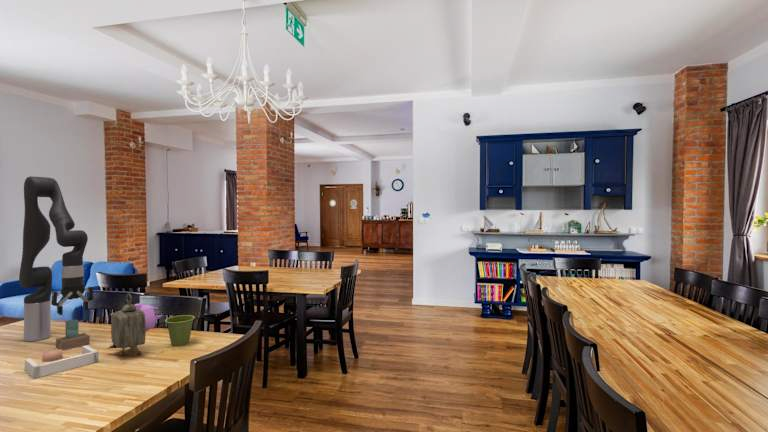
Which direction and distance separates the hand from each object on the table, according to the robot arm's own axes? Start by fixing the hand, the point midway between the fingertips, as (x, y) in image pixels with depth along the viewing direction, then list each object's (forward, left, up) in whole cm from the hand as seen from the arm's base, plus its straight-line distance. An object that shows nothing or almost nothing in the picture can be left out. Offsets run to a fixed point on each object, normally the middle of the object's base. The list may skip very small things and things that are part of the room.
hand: (73, 312), depth 168 cm
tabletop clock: (+30, +10, -15) cm, 35 cm away
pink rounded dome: (+12, -10, -15) cm, 21 cm away
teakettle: (-6, +28, -15) cm, 32 cm away
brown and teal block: (0, 0, -15) cm, 15 cm away
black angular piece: (+14, +13, -16) cm, 25 cm away
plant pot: (+35, +29, -15) cm, 48 cm away
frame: (+24, -10, -15) cm, 30 cm away
